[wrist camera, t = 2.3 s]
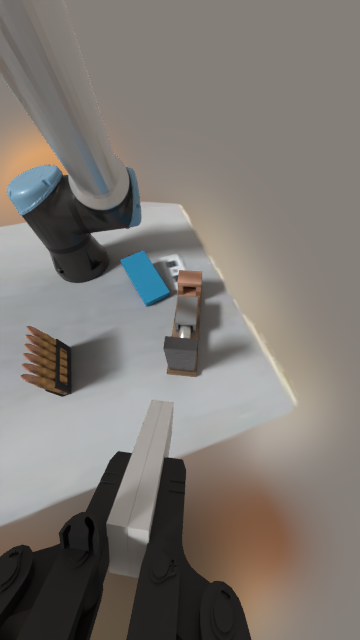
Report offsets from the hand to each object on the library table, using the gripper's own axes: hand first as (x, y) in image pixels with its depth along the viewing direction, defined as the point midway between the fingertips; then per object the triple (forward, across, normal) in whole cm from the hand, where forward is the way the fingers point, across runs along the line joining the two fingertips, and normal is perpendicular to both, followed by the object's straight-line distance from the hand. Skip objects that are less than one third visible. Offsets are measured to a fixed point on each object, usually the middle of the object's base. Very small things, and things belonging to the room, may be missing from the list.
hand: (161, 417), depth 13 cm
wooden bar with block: (+32, 0, -2) cm, 32 cm away
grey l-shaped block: (+28, 0, -4) cm, 28 cm away
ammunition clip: (+23, -25, -12) cm, 36 cm away
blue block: (+42, -14, +7) cm, 45 cm away
